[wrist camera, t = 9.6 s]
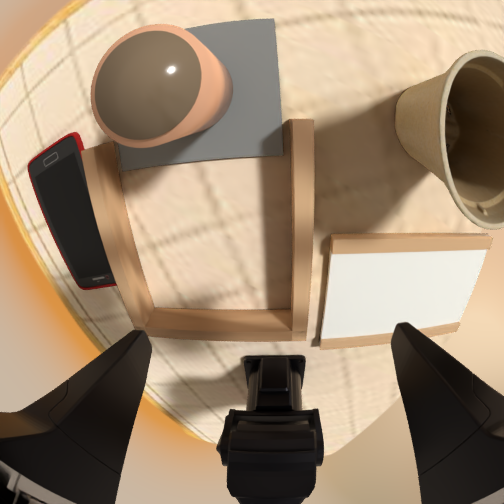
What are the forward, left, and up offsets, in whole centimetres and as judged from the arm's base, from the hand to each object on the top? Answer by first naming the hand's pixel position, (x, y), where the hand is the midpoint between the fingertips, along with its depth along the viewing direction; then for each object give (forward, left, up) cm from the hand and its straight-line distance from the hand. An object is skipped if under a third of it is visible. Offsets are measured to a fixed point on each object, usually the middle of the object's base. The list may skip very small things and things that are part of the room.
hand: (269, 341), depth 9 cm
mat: (+9, +5, -12) cm, 16 cm away
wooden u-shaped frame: (-2, +5, -12) cm, 13 cm away
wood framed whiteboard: (-8, -13, -12) cm, 20 cm away
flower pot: (+7, -12, -13) cm, 19 cm away
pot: (+9, +5, -12) cm, 16 cm away
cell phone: (+1, +17, -13) cm, 22 cm away
